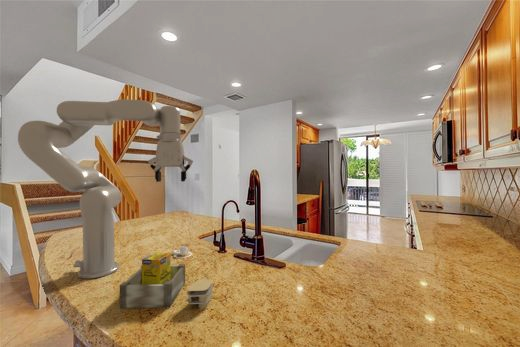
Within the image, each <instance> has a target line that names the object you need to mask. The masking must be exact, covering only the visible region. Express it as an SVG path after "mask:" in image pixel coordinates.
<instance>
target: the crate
mask: <svg viewBox="0 0 520 347" xmlns="http://www.w3.org/2000/svg"><path fill="white" fill-rule="evenodd" d="M170 267H171V281H166V282H165V283H164V284H150V285H142V265H141V266H140V268H139V269H138V270H137V271H136V272H134V274H132V275H131V276H129V278H128V279H127V280H125V281H123V282H121V283H120V284H119V309H147V308H148V309H151V308H152V309H153V308H159V309H160V308H171V307H172V305H173V304H174V302H175V300H176V298H177V297H178V296H179V294H180V292H181V290H182V288H184V286H185V283H186V263H178V264H170Z"/></svg>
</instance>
